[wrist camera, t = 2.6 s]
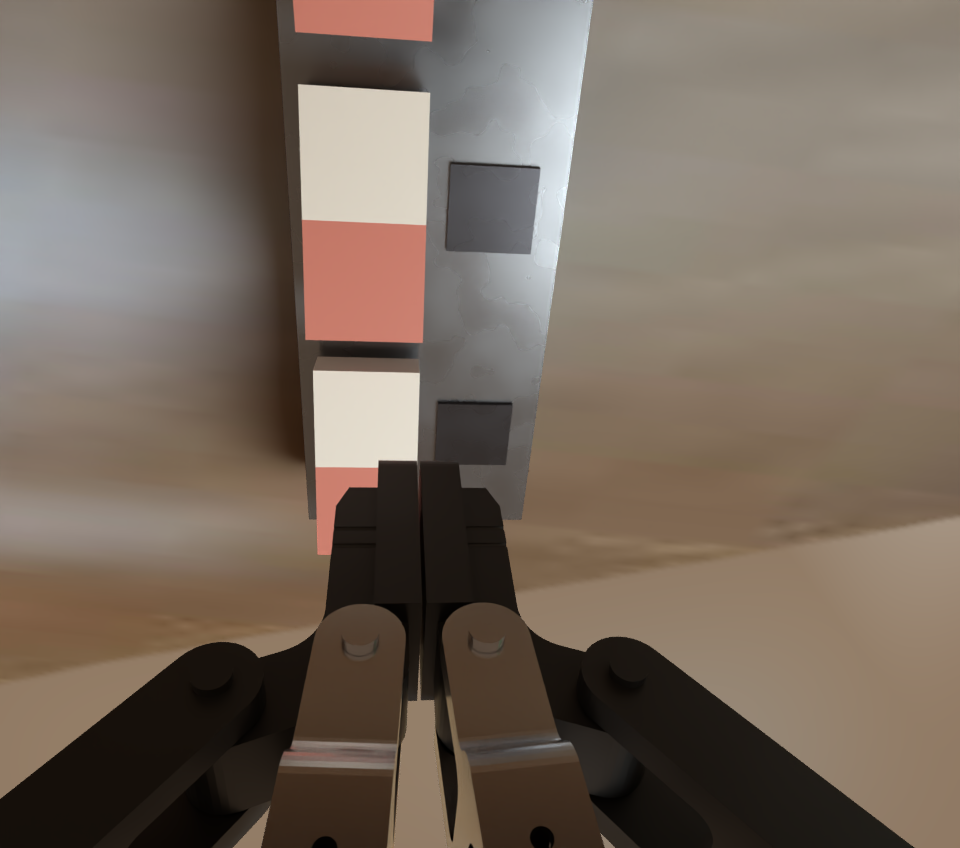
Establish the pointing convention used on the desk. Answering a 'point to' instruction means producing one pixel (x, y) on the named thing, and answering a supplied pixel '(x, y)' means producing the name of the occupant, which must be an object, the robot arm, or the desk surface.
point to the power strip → (464, 216)
